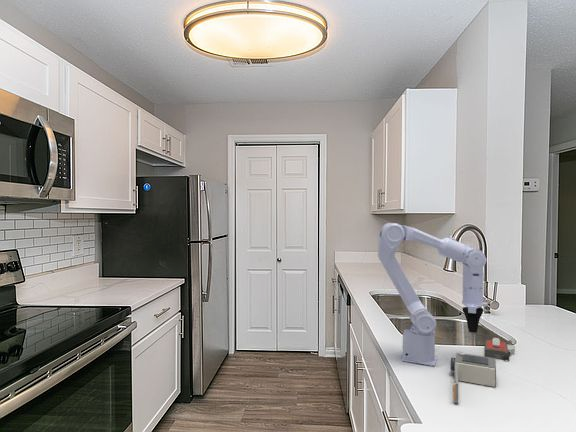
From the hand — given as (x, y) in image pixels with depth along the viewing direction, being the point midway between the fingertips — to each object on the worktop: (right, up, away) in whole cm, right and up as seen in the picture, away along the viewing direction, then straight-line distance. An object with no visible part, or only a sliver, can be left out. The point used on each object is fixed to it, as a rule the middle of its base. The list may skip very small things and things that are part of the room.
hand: (472, 331), depth 119 cm
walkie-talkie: (+14, -10, +11) cm, 20 cm away
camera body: (-5, -9, -12) cm, 16 cm away
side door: (-14, -9, -20) cm, 26 cm away
